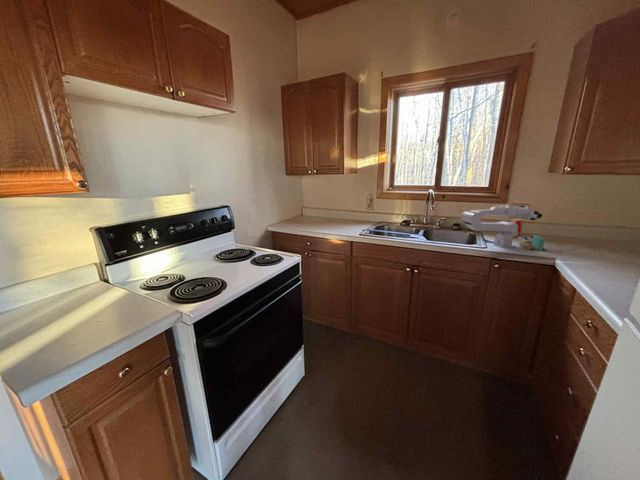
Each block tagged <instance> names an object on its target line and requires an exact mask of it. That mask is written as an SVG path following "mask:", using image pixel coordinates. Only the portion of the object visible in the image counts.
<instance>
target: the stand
mask: <svg viewBox="0 0 640 480" xmlns="http://www.w3.org/2000/svg"><path fill="white" fill-rule="evenodd" d="M517 240H518V241H519V242H520V240H524V241H526V242H527V243H528V244H531V245H532V241H533V237H532V238H531V237H530V236H518V237H517Z"/></svg>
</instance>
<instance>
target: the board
mask: <svg viewBox="0 0 640 480" xmlns="http://www.w3.org/2000/svg"><path fill="white" fill-rule="evenodd" d="M532 239H533V241H532V245H533V246H535V247H536V248H538V250H539V251H538V252H544V251H543V248H544V246H545V245H544V244H545V238H544V237H542V236H540V235H539V234H538V235H537V234H536V235H535V234H533V237H532Z"/></svg>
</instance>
